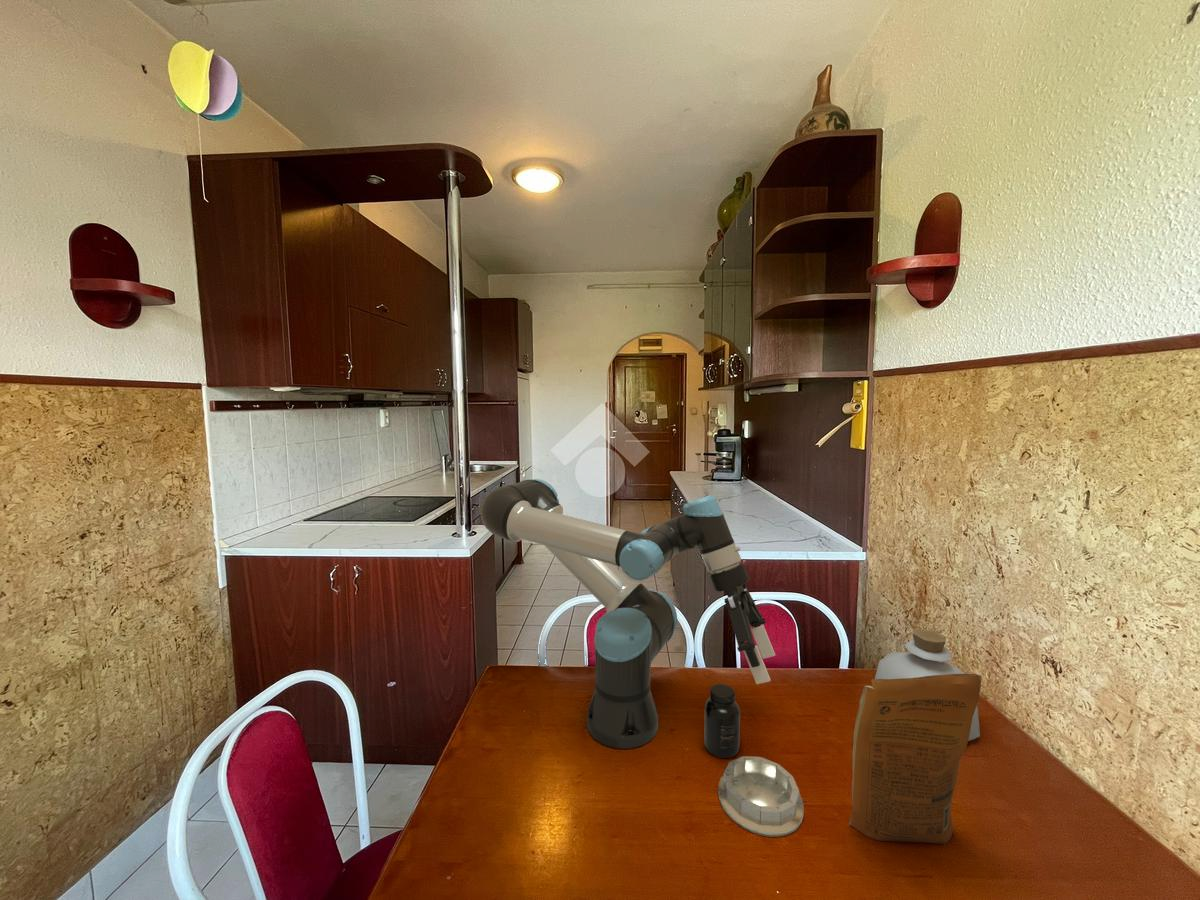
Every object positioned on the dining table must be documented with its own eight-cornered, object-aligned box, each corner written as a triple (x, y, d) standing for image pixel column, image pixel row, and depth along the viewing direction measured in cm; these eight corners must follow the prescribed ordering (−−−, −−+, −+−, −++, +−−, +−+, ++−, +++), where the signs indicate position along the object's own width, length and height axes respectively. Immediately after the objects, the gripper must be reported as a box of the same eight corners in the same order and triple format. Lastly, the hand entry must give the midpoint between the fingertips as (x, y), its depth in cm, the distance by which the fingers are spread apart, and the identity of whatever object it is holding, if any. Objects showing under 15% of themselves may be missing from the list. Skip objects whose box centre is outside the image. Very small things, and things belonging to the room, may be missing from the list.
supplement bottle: (741, 741, 99) (743, 685, 98) (736, 764, 93) (738, 705, 92) (707, 731, 102) (709, 677, 101) (700, 752, 96) (701, 695, 95)
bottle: (964, 766, 93) (972, 672, 91) (856, 713, 108) (862, 632, 106) (993, 722, 105) (1001, 639, 103) (893, 680, 121) (898, 607, 118)
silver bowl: (706, 810, 83) (707, 791, 82) (732, 759, 94) (733, 742, 94) (793, 852, 75) (794, 832, 75) (810, 791, 87) (811, 773, 86)
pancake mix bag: (981, 856, 75) (998, 684, 71) (853, 849, 76) (864, 679, 72) (952, 818, 81) (967, 659, 78) (835, 812, 82) (844, 655, 79)
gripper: (733, 574, 90) (781, 690, 87) (749, 552, 113) (787, 643, 109) (696, 585, 93) (740, 698, 89) (719, 562, 116) (755, 651, 112)
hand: (766, 668), depth 99 cm, fingers open, 13 cm apart
